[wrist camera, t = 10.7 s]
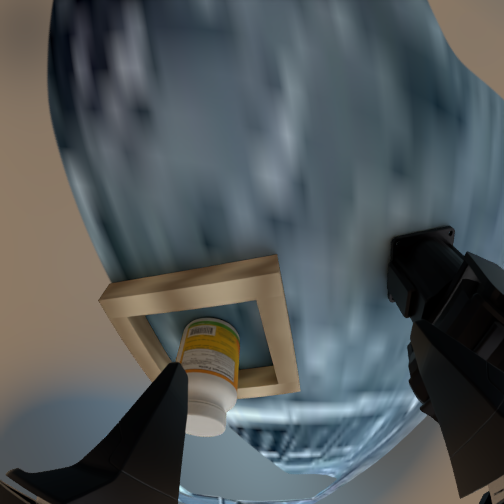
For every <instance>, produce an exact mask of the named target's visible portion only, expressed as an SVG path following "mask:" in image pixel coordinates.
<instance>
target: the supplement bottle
mask: <svg viewBox="0 0 504 504" xmlns="http://www.w3.org/2000/svg"><path fill="white" fill-rule="evenodd" d="M239 350H240V338H239V335H238V333H237V331H236V330H235V328H234V327H232V326H231V325H230V324H228V323H227V322H225V321H223V320H220V319H215V318H199V319H196V320H194V321H192V322H190V323H189V324H188V325H187V326H186V328H185V329H184V332H183V335H182V339H181V343H180V346H179V350H178V354H177V358H176V362H179V363H181V365H182V367H183V368H184V370H185V371H186V373H187V375H188V415H187V423H186V431H185V433H187V434H190V435H195V436H202V437H211V436H217V435H220V434H222V433H223V432H224V431H225V426H226V412H228V411H229V410H231V409H232V408H233V407H234V405H235V403H236V400H237V388H238V369H239Z"/></svg>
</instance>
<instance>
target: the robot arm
mask: <svg viewBox="0 0 504 504" xmlns="http://www.w3.org/2000/svg"><path fill="white" fill-rule="evenodd" d="M449 232H450V233H449ZM454 234H455V230H454V229H453V228H452V227H451V226H447V227H442V228H437V229H432V230H427V231H422V232H417V233H411V234H406V235H401V236H396V237H394V238H393V240H392V242H391V262H390V263H389V265H388V280H387V289H388V299H389V301H390V302H396V304H397V306H398V307H399V309H400V311H401V313H402V314H403V316H404V317H405V318H409V317H410V318H411V320H412V322H413V326H412V331H411V335H410V340H411V342H410V343H409V345H408V346H407V349H408V357H409V365H408V366H409V371H410V377H411V378H410V379H409V385H410V387H411V389H412V390H413V392H414V394H415V396H416V397H417V399H418V400H419V401H420V402H421V403H422V404H423V405H422V406H421V407H420V410H421V411H422V412H424V413H425V414H427V415H429V416H431V417H432V418H433V419H434V420H435V421H437V422H438V423H439V425H440V427H441V431H442V434H443V437H444V440H445V443H446V447H447V450H448V453H449V456H450V460H451V464H452V468H453V472H454V476H455V479H456V484H457V488H458V492H459V496H460V499H461V498H463V497H465V496H467V495H469V494H471V493H473V492H475V491H477V490H479V489H481V488H483V487H484V486H486V485H488V487H489V491H488V492H486V493H485V494H484V495H483V496H482V499H481V501H480V502H479V504H504V270H503V269H502V268H501V267H499V266H498V265H497V264H495V263H493V262H490V261H488V260H486V259H484V258H481V257H479V256H477V255H475V254H472V253H470V252H468V251H467V252H466V254H465V256H464V255H462V254H461V253H460V252H459V251H458V250H457V249H456V248H455V247H454V246H453V242H454ZM398 241H399V243H398V244H397V245H396V243H397V242H398ZM392 297H393V298H392ZM187 415H188V375H187V373H186V371H185V370H184V368H183V367H182V365H181V363H179V362H171V363H169V364H168V365H167V366H166V367H165V368H164V369H163V371H162V372H161V373H160V374H159V375H158V376H157V378H156V379H155V380H154V381H153V382H152V384H151V385H150V386H149V387H148V388H147V390H146V391H145V392H144V393H143V394H142V395H141V397H140V398H139V399H138V400H137V401H136V402H135V404H134V405H133V406H132V407H131V408H130V409H129V411H128V412H127V413H126V414H125V415H124V417H123V418H122V419H121V420H120V421H119V423H118V424H117V425H116V426H115V427H114V428H113V429H112V430H111V431H110V433H109V434H108V435H107V436H106V437H105V438H104V439H103V440H102V441H101V442H100V443H99V444H98V445H97V446H96V447H95V448H94V449H92V450H91V452H89V453H88V454H87V455H86V456H85V457H84V458H83V459H82V460H80V461H79V462H78V463H76V464H74V465H72V466H70V467H65V468H61V469H55V470H50V471H44V472H38V473H27V472H24V471H23V470H21V469H19V468H16V469H12V470H10V471H8V472H7V473H6V476H8V477H9V478H10V479H12V480H13V481H15V482H16V483H18V484H19V485H21V486H22V487H24V488H25V489H27V490H28V491H30V492H31V493H33V494H35V495H36V496H37V500H34V499H32V498H30V497H28V496H27V495H25V494H23V493H21V492H19V491H18V490H16V489H14V488H13V487H11V486H9V485H8V484H6V483H4V482H3V481H1V480H0V504H178V496H179V486H180V475H181V466H182V456H183V448H184V439H185V431H186V423H187Z"/></svg>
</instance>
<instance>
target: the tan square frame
mask: <svg viewBox="0 0 504 504" xmlns="http://www.w3.org/2000/svg"><path fill="white" fill-rule="evenodd" d="M252 300H257V304H258V308H259V312H260V316H261V320H262V323H263V327H264V331H265V335H266V339H267V342H268V346H269V350H270V354H271V358H272V361H273V365H274V366H267V367H260V368H251V369H242V370H238V388H237V399H241V398H252V397H262V396H271V395H279V394H286V393H293V392H299V391H300V384H299V376H298V369H297V363H296V357H295V351H294V345H293V339H292V334H291V328H290V322H289V317H288V311H287V305H286V300H285V294H284V289H283V283H282V278H281V273H280V267H279V262H278V257H277V255H271V256H265V257H260V258H254V259H249V260H243V261H237V262H232V263H226V264H221V265H215V266H209V267H203V268H198V269H192V270H186V271H181V272H175V273H169V274H163V275H158V276H152V277H146V278H140V279H134V280H128V281H122V282H117V283H111V284H109V285H108V287H107V288H106V290H105V291H104V293H103V294H102V296H101V297H100V299H99V300H98V301H99V303H100V304H101V306H102V308H103V309H104V311H105V313H106V314H107V316H108V318H109V320H110V321H111V323H112V324H113V326H114V328H115V329H116V331H117V333H118V334H119V336H120V337H121V339H122V340H123V342H124V343H125V345H126V346H127V348H128V349H129V351H130V352H131V354H132V355H133V357H134V358H135V360H136V361H137V362H138V364H139V365H140V367H141V368H142V369H143V371H144V372H145V374H146V375H147V376H148V377H149V379H150V380H151V382H153V381H154V380H155V379H156V378H157V376H158V375H159V374H160V373H161V372H162V371H163V369H164V368H165V367H166V366H167V365H168V364H169V363H171V360H170V358H169V357H168V355H167V353H166V352H165V350H164V348H163V347H162V345H161V343H160V342H159V340H158V338H157V336H156V335H155V333H154V331H153V329H152V328H151V326H150V324H149V322H148V320H147V319H146V317H145V315H149V314H158V313H166V312H174V311H183V310H190V309H198V308H205V307H212V306H219V305H226V304H233V303H240V302H246V301H252Z"/></svg>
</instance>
